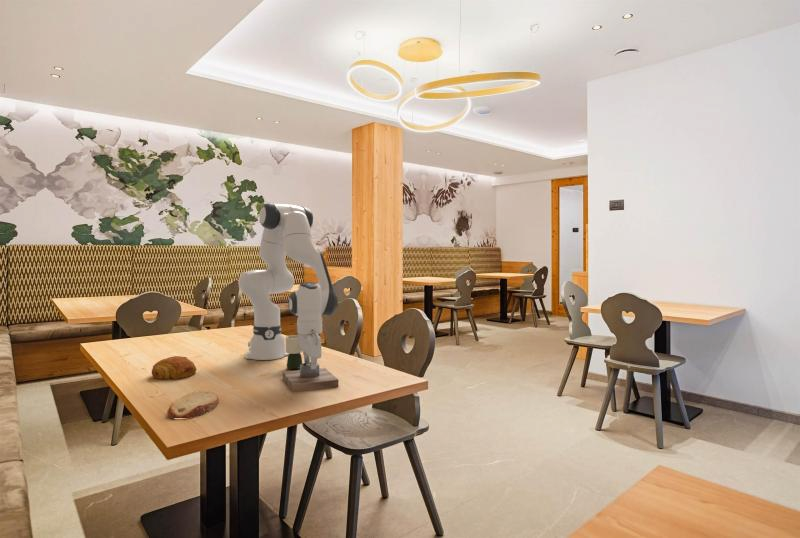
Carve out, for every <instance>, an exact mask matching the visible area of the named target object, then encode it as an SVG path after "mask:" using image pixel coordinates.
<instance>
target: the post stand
mask: <svg viewBox="0 0 800 538" xmlns="http://www.w3.org/2000/svg"><path fill="white" fill-rule="evenodd" d="M306 366H310V364H306ZM282 380H283V381H284V382H285V383H286V385H287V386H288V388H289V389H290V391H291V392H292V393H296V392H303V391H313V390H314V391H315V390H321V389H323V390H324V389H329V388H338V387H339V379H338V377H336V376H335V375H334V374H332V372H331V371H329V369H327V368H326V367H319V376H317V377H314V378H303V377H301V376H300V369H296V370H288V371H282Z"/></svg>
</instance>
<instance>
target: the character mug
mask: <svg viewBox="0 0 800 538" xmlns="http://www.w3.org/2000/svg"><path fill="white" fill-rule="evenodd" d="M285 351H286V353H289V355H287V360H286V368H287V369H289V370H293V369H296V370H299V369H300V364H303V357H302V353H303V350H301V349H300V347H299V341H298V334H293V335H292V334H291V335H287V336H285Z"/></svg>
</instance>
